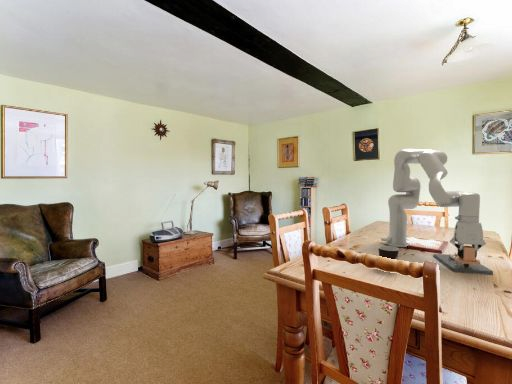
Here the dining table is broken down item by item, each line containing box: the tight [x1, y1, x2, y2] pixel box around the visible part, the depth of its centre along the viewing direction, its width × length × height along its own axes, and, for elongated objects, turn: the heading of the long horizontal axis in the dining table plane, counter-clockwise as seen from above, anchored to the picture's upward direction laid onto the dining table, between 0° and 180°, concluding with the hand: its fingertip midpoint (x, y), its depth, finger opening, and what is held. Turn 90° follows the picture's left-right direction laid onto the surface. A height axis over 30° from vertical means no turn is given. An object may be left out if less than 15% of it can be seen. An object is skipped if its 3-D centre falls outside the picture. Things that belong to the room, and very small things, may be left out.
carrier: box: [432, 252, 494, 276], centre depth 131 cm, size 15×23×7 cm, turn 167°
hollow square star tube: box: [454, 244, 481, 265], centre depth 125 cm, size 10×10×7 cm
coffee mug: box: [377, 245, 400, 260], centre depth 127 cm, size 12×9×10 cm
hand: (466, 257), depth 125 cm, fingers closed on hollow square star tube, 4 cm apart
